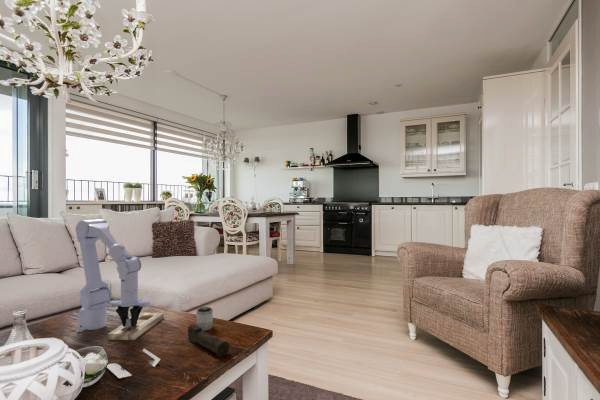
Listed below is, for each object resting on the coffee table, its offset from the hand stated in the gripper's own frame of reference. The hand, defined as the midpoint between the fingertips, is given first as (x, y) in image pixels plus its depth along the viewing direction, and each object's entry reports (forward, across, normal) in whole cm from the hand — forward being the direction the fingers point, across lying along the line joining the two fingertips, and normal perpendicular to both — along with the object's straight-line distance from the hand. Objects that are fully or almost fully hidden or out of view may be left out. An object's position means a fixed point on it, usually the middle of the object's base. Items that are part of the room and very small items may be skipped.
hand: (129, 325), depth 123 cm
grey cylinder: (+3, 0, 0) cm, 3 cm away
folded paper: (+5, +14, -22) cm, 26 cm away
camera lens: (+4, +26, +8) cm, 28 cm away
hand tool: (+4, +32, -8) cm, 33 cm away
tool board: (+4, 0, +6) cm, 7 cm away
